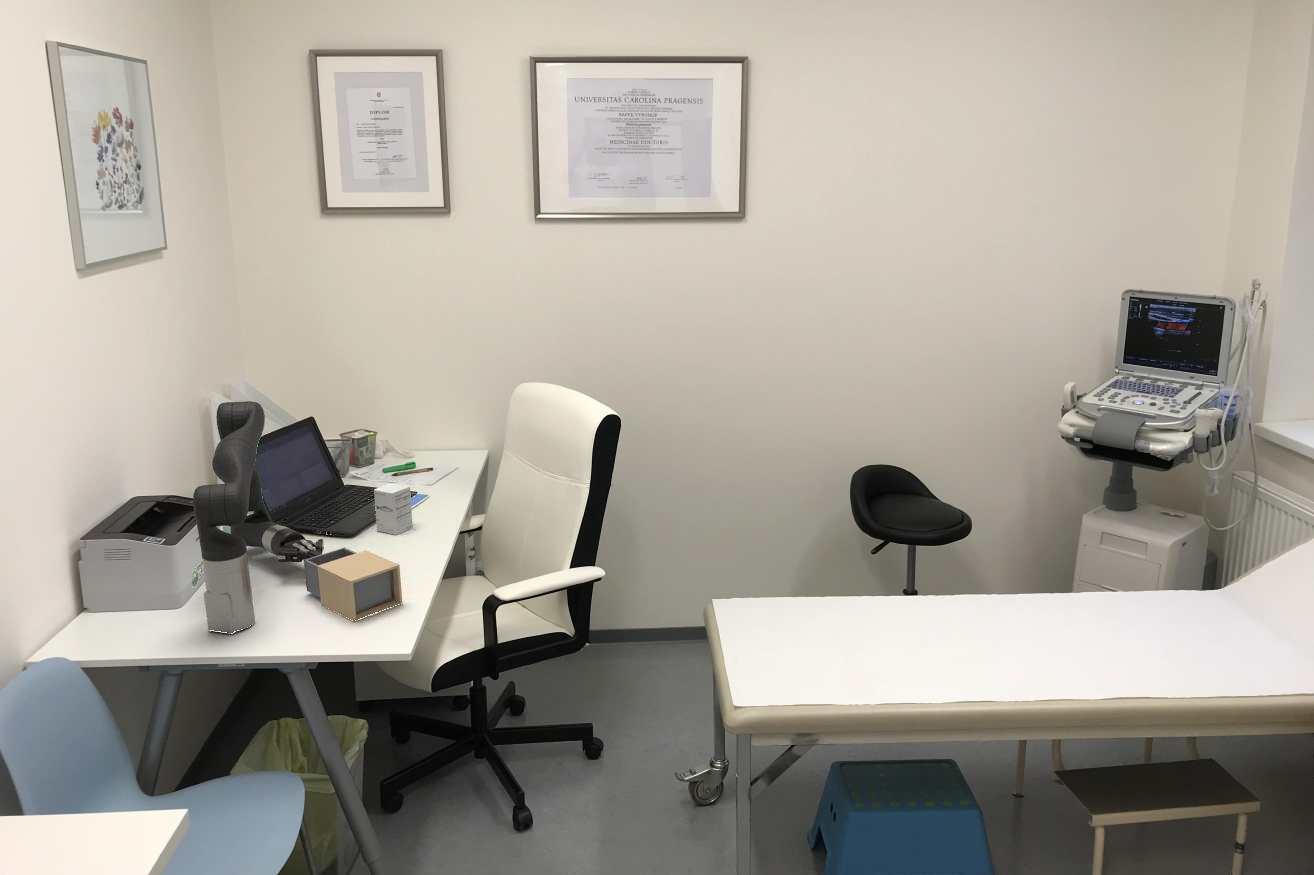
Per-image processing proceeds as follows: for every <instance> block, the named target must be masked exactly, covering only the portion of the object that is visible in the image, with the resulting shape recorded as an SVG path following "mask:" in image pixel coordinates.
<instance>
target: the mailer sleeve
mask: <svg viewBox="0 0 1314 875" xmlns="http://www.w3.org/2000/svg"><path fill="white" fill-rule="evenodd" d="M317 567H318V577H319V587H320V597H321V598H320V597H319V598H320V603H321V604H320V605H321V606H322V605H323V606H322V607H324V606H325V607H324V608H326V607H327V608H326V609H328V608H329V609H328V610H330V611H331V612H333V611H335V612H337V613H339V614H341V615H343V616H345V617H347V618H349V619H351V620H353V621H355V620H358V619H360V618H363V617H365V616H368V615H370V614H373V613H375V612H379V611H382V610H384V609H387V608H390V607H393V606H395V605H398V604H400V603H402V604H403V594H402V582H401V581H402V580H401V568H400V567H401V566H400V564H399V563H398V562H394V561H391V560H389V559H387V558H385V557H383V556H380V555H378V554H376V553H373V552H371V551H368V550H363V551H360V552H356V554H353V555H349V556H346V557H343V558H340V559H337V560H334V561H331V562H328V563H324V564H321V565H318V566H317ZM390 570H391V571H392V584H393V597H394V599H393V600H390V601H387V602H385V603H382V604H379V605H377V606H374V607H371V608H368V609H366V610H363V611H360V612H358V613H356V610H355V598H354V587H353V583H355V582H358V581H361V580H364V579H367V578H369V577H372V576H375V575H378V574H381V573H384V572H387V571H390ZM393 608H394V607H393ZM335 612H334V613H335ZM337 613H336V614H337ZM339 614H338V615H339ZM341 615H340V616H341ZM343 616H342V617H343ZM345 617H344V618H345ZM347 618H346V619H347ZM349 619H348V620H349ZM351 620H350V621H351ZM353 621H352V622H353Z"/></svg>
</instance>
